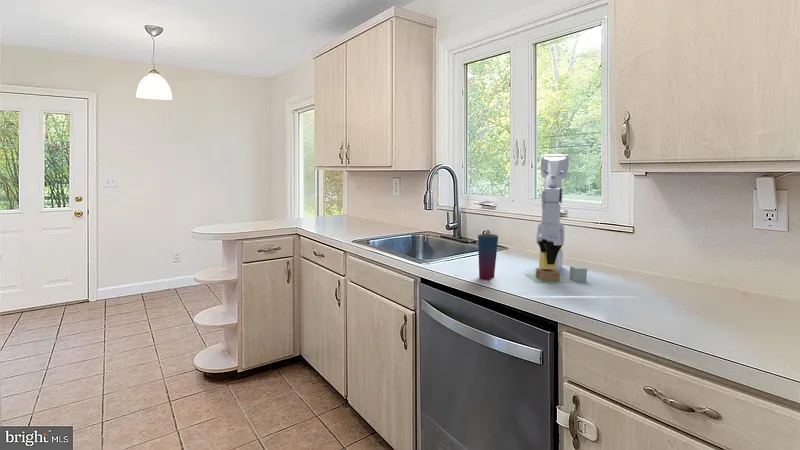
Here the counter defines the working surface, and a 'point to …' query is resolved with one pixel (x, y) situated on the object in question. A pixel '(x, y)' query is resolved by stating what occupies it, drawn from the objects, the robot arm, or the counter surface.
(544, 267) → the mustard brick
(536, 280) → the baseplate
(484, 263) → the cup
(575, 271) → the brick
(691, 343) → the counter surface
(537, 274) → the base brick
